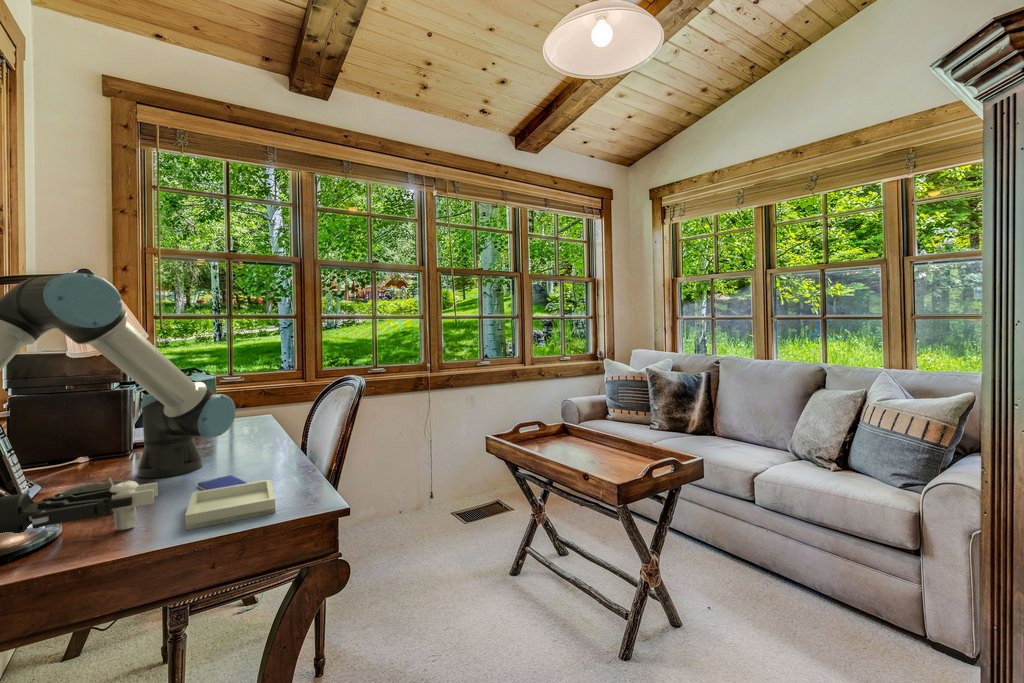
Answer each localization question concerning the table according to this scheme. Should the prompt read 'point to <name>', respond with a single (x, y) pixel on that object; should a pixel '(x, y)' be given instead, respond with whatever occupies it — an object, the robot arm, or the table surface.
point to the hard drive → (220, 482)
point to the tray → (230, 504)
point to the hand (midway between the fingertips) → (155, 492)
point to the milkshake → (126, 515)
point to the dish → (92, 487)
